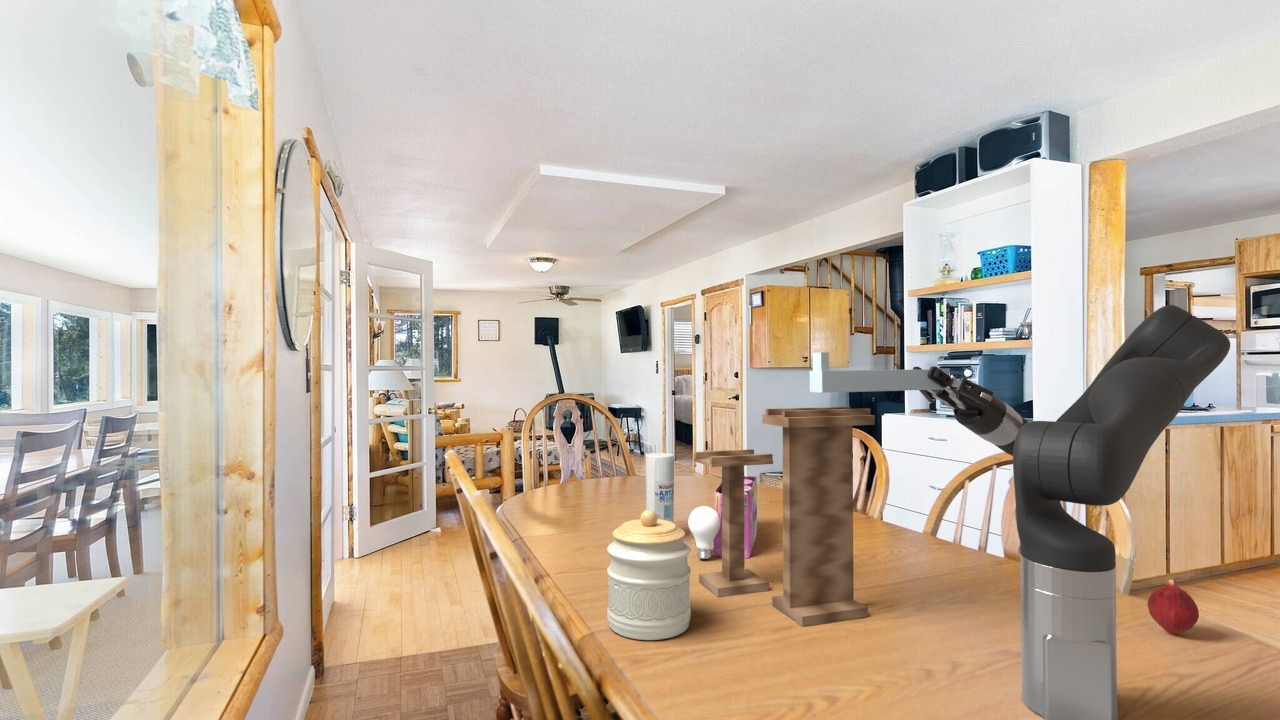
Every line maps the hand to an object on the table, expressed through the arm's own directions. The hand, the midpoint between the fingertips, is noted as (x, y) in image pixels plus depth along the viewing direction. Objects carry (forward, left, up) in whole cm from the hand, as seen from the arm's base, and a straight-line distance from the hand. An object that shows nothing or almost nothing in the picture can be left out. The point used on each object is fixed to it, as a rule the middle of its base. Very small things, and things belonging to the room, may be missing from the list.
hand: (922, 371), depth 110 cm
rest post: (-7, +32, -39) cm, 51 cm away
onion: (-4, -34, -39) cm, 52 cm away
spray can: (+15, +54, -39) cm, 69 cm away
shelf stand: (-14, +16, -39) cm, 45 cm away
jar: (-29, +40, -39) cm, 63 cm away
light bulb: (+6, +41, -39) cm, 57 cm away
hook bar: (-6, +7, -3) cm, 9 cm away
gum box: (+21, +38, -39) cm, 59 cm away
